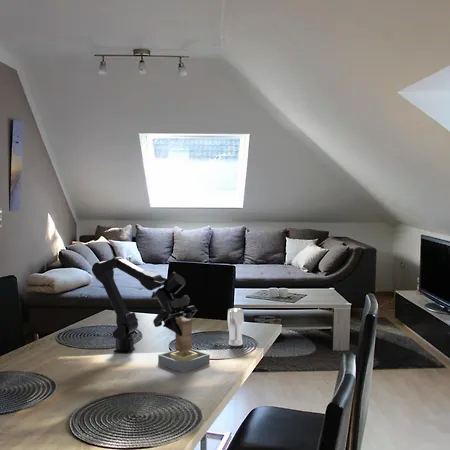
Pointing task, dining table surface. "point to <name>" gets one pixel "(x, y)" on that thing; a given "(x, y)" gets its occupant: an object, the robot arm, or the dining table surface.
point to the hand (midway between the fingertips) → (185, 334)
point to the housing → (183, 360)
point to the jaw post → (184, 335)
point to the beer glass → (235, 326)
